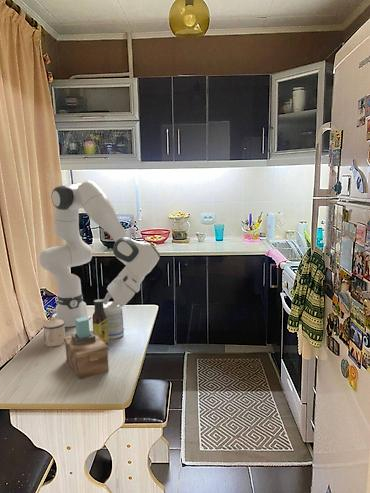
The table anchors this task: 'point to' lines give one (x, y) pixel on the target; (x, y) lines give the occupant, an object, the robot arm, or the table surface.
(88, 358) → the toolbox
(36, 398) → the table surface
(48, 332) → the teacup with lid
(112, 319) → the supplement tub
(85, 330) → the teal rectangular block
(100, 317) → the sauce bottle
